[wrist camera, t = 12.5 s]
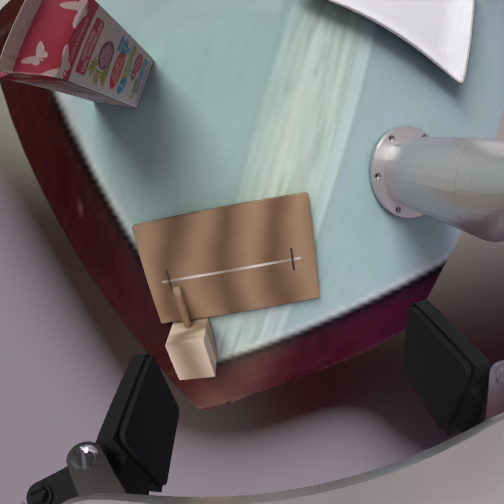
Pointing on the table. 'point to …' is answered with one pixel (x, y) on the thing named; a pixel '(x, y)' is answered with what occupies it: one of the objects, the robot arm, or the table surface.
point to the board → (231, 257)
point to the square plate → (426, 27)
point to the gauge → (191, 344)
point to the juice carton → (75, 52)
